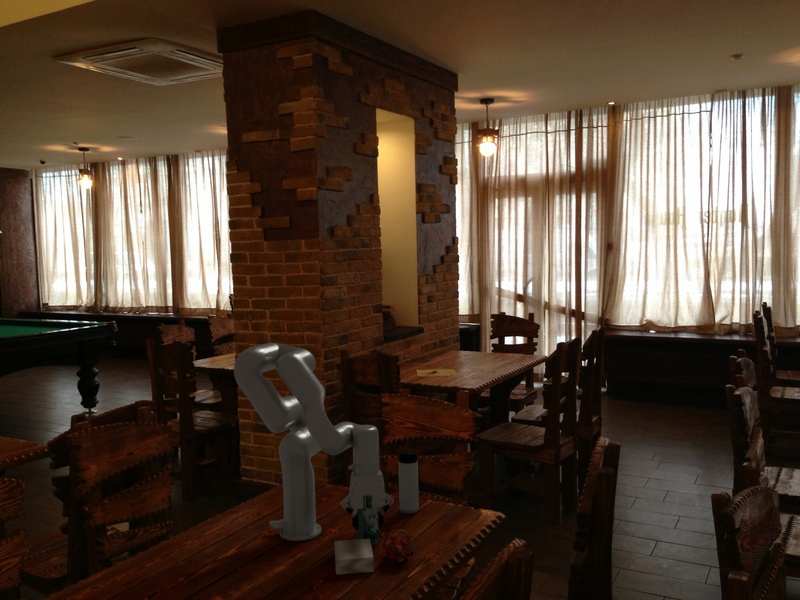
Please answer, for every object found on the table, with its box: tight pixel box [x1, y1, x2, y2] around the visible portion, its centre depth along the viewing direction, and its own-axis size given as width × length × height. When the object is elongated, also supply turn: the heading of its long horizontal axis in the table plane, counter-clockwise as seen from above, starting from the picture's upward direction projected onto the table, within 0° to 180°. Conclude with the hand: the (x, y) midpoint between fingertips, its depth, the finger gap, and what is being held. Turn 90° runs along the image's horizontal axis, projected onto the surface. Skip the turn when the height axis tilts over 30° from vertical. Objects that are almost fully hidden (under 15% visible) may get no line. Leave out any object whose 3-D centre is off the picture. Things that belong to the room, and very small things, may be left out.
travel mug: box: [398, 450, 420, 515], centre depth 228 cm, size 6×7×20 cm
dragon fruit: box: [381, 528, 415, 565], centre depth 193 cm, size 8×8×12 cm
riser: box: [334, 539, 375, 576], centre depth 192 cm, size 10×12×4 cm
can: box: [356, 495, 380, 547], centre depth 205 cm, size 6×6×15 cm
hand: (368, 527), depth 205 cm, fingers closed on can, 6 cm apart
